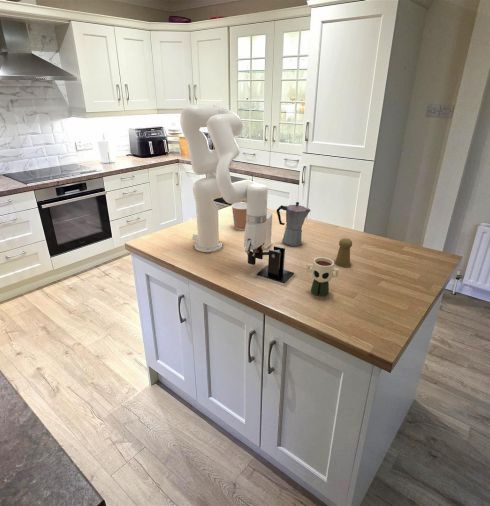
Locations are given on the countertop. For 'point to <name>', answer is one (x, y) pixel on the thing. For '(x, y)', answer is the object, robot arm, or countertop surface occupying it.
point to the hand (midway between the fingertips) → (255, 260)
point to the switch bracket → (276, 266)
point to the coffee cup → (239, 215)
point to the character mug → (322, 275)
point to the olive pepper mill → (344, 253)
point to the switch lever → (265, 252)
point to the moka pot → (293, 223)
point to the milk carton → (268, 229)
